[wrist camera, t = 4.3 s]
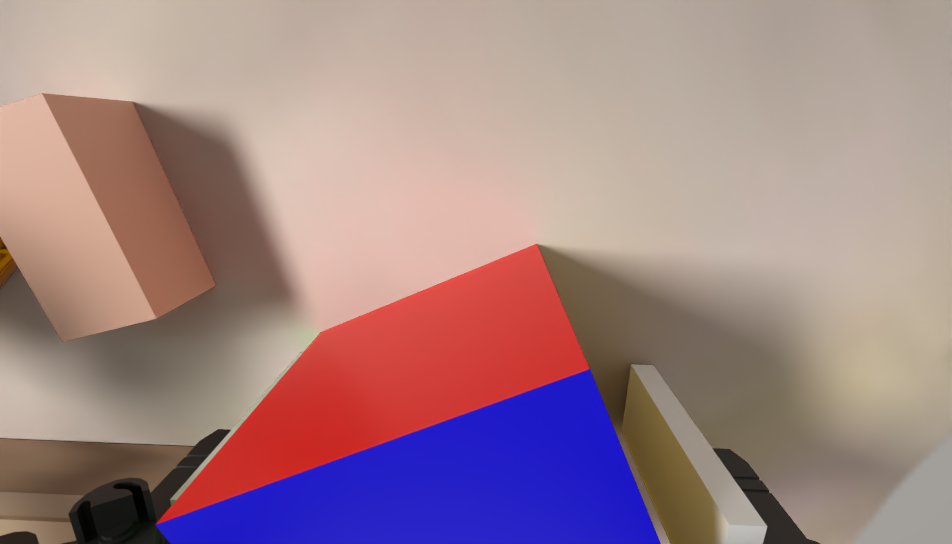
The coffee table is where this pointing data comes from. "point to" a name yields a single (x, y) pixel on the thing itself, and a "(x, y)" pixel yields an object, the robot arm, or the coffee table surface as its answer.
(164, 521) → the cube
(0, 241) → the figurine
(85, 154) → the terracotta brick
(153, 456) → the walnut slab
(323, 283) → the coffee table surface
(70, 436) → the coffee table surface
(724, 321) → the coffee table surface
